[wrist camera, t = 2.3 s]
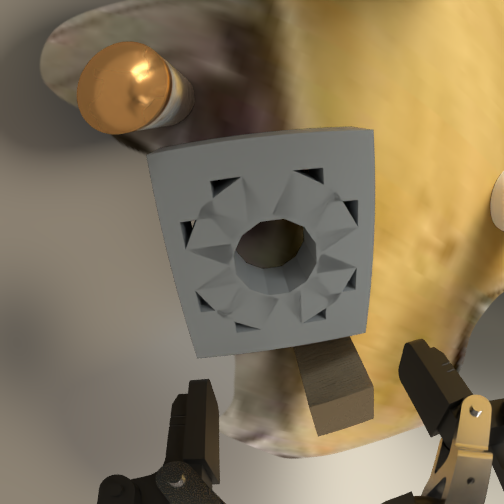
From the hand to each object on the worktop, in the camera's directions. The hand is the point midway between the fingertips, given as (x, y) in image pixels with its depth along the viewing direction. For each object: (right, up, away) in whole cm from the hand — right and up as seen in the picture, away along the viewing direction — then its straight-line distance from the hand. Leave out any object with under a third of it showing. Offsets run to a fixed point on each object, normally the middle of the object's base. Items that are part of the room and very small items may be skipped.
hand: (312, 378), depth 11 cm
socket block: (-1, +6, +13) cm, 14 cm away
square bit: (+4, -4, +18) cm, 19 cm away
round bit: (-8, +16, +8) cm, 19 cm away
